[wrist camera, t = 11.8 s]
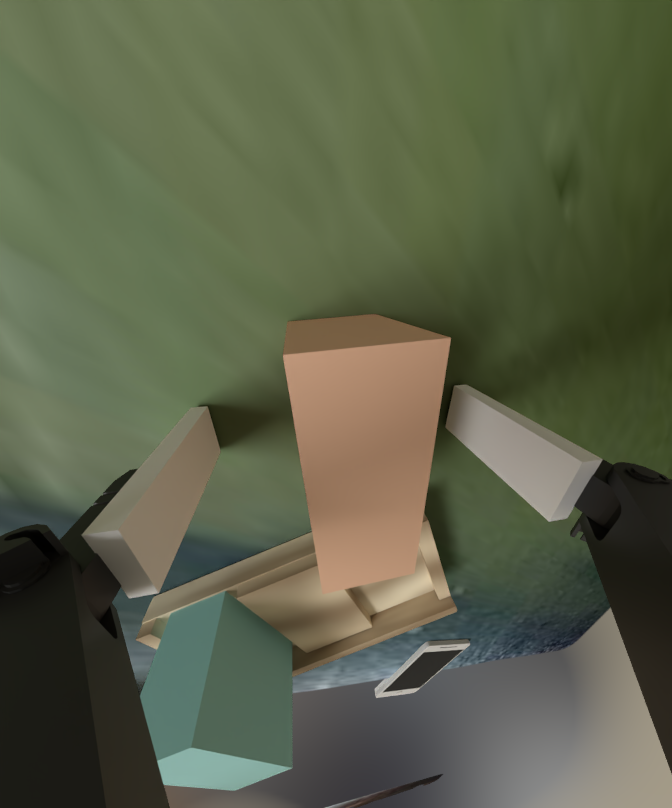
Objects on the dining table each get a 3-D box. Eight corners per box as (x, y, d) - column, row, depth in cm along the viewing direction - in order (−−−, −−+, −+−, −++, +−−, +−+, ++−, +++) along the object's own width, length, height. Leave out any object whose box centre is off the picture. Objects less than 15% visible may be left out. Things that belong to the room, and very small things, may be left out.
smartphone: (373, 689, 35) (375, 699, 34) (424, 637, 30) (428, 647, 29) (412, 684, 37) (415, 693, 36) (467, 634, 32) (472, 644, 31)
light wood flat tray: (153, 597, 17) (127, 654, 14) (411, 490, 17) (434, 529, 14) (243, 650, 23) (236, 699, 20) (437, 572, 22) (457, 611, 19)
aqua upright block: (170, 613, 16) (108, 780, 10) (225, 590, 16) (190, 747, 10) (249, 659, 20) (234, 790, 15) (292, 642, 20) (292, 768, 15)
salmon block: (287, 321, 10) (283, 354, 5) (374, 313, 11) (451, 337, 6) (311, 485, 15) (322, 594, 10) (372, 475, 15) (414, 573, 10)
